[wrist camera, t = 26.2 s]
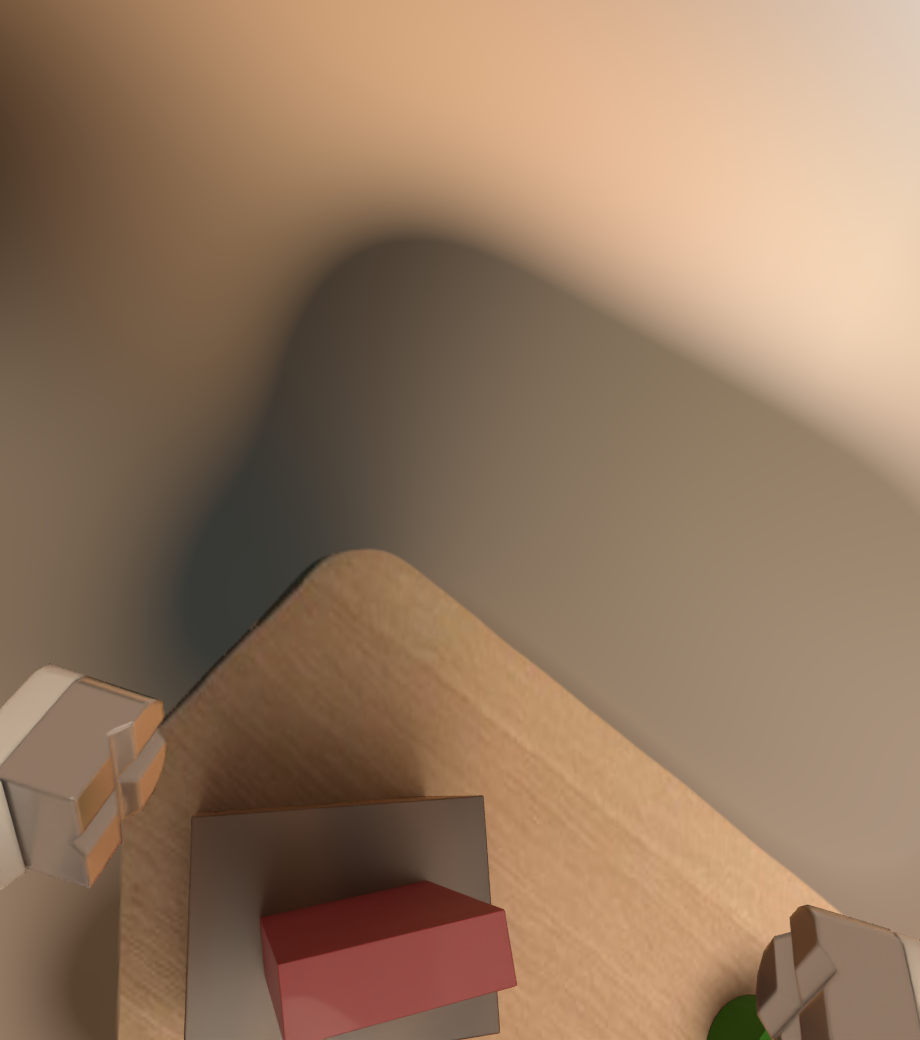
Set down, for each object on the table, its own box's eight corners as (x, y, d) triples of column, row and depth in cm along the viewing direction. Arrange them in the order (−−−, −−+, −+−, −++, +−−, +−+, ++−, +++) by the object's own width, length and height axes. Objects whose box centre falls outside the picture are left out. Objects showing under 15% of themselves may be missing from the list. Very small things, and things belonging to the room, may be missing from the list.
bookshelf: (190, 1014, 51) (182, 1085, 39) (196, 812, 55) (191, 816, 42) (435, 980, 56) (500, 1033, 43) (426, 796, 59) (483, 795, 47)
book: (264, 978, 41) (285, 1050, 29) (259, 917, 42) (277, 964, 30) (435, 935, 44) (517, 986, 32) (427, 880, 44) (504, 909, 33)
